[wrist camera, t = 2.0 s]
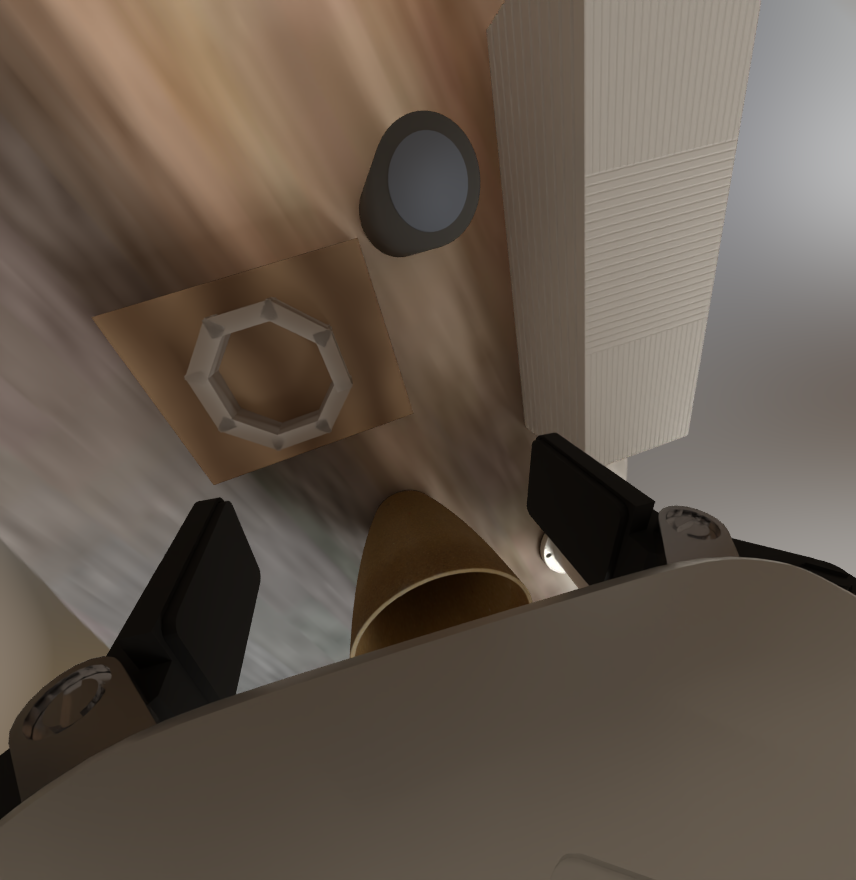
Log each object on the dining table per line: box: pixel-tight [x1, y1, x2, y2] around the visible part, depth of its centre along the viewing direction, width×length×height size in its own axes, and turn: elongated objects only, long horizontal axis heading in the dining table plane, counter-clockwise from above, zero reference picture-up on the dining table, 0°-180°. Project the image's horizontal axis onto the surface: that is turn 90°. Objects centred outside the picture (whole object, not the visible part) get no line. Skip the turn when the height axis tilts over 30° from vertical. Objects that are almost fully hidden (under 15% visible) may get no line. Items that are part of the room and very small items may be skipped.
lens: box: [359, 111, 480, 257], centre depth 22 cm, size 6×6×10 cm
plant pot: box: [350, 490, 532, 658], centre depth 33 cm, size 15×15×16 cm
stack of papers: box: [486, 0, 761, 466], centre depth 27 cm, size 32×11×11 cm, turn 13°
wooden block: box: [91, 238, 413, 485], centre depth 27 cm, size 18×14×6 cm
